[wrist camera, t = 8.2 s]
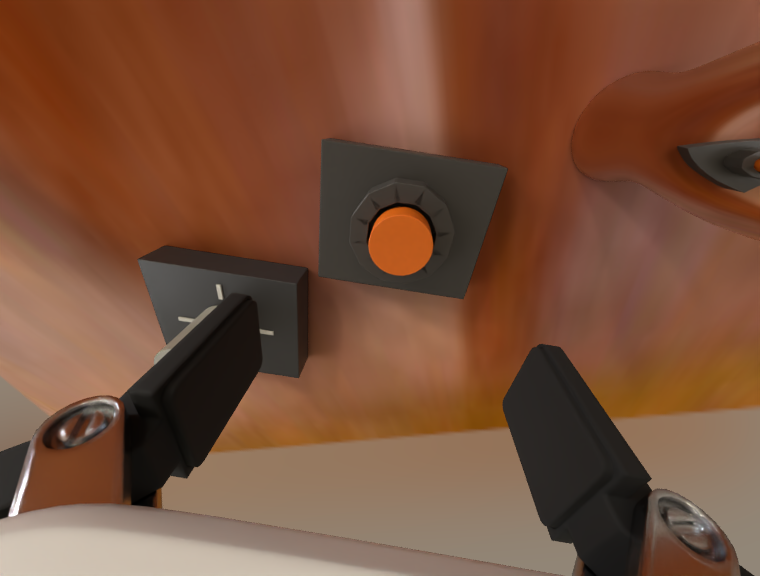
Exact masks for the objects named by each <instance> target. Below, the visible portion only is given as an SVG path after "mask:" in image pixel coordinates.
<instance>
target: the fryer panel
mask: <svg viewBox="0 0 760 576" xmlns="http://www.w3.org/2000/svg"><path fill="white" fill-rule="evenodd" d="M138 263H139V266H140V269H141V271H142V274H143V277H144V280H145V283H146V286H147V289H148V292H149V295H150V298H151V301H152V304H153V307H154V310H155V313H156V316H157V319H158V321H159V324H160V327H161V330H162V333H163V336H164V339H165V342H166V345H167V344H168V343H169V342H171V341H172V340H173V339H174V338H175V337H176V336H177V335H178V334H179V333H180V332H181V331H183V330H184V329H185V328H186V327H187V326H188V325H189V324H190V323H191V322H192V321H193V320H195V319H196V318H197V317H198V316H199V315H200V314H201V313H202V312H203V311H204V310H206V309H207V308H209V307H211V306H218V305H219V304H220V303H221V302H222V301H223V300H224V299H225V298H226V297H227V296H228V295H230V294H231V293H237V294H243V295H249V296H251V297H252V300H253V301H256V302H257V308H258V318H259V327H260V337H261V347H262V357H263V361H262V365H261V368H260V370H259V372H262V373H269V374H275V375H281V376H288V377H294V378H299V377H300V374H301V372H302V370H303V367H304V365H305V362H306V360H307V358H308V268H305V267H299V266H292V265H286V264H279V263H273V262H267V261H260V260H254V259H247V258H241V257H235V256H228V255H222V254H215V253H209V252H203V251H196V250H190V249H184V248H177V247H171V246H163V247H161V248H159V249H157V250H155V251H153V252H151V253H149V254H147V255H145V256H143V257H141V258H139V259H138Z"/></svg>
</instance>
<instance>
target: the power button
mask: <svg viewBox="0 0 760 576" xmlns="http://www.w3.org/2000/svg"><path fill="white" fill-rule="evenodd" d="M368 246H369V253H370V256H371V258H372V260H373V261H374V263H375V264H376V265H377V266H378V267H379V268H380V269H381V270H383V271H384V272H387V273H389V274H392V275H398V276H404V275H409V274H412V273H415V272H417V271H419V270H420V269H422V268H423V267H424V266H425V265H426V264H427V262H428V261H429V259H430V257H431V255H432V252H433V238H432V234H431V230H430V226H429V224H428V221H427V220H426V218H425V217H424V216H423V215H422V214H421V213H420V212H418V211H417V210H415V209H412V208H409V207H403V206H402V207H394V208H391V209H388V210H386V211H385V212H383V213H382V214H381V215H380V216H379V217H378V218H377V220H376V221H375V223H374V226H373V229H372V232H371V235H370V238H369V245H368Z"/></svg>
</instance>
